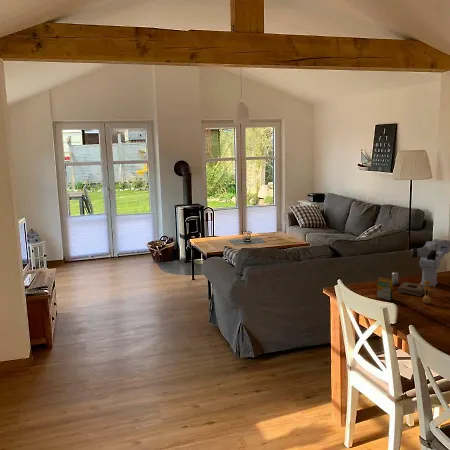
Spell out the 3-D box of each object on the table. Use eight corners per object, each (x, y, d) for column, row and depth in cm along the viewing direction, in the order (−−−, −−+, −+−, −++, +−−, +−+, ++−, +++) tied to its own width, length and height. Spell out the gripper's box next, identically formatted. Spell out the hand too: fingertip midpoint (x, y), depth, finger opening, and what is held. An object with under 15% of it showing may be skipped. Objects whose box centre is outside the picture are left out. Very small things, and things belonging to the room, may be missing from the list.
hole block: (404, 287, 270) (404, 281, 269) (426, 290, 263) (426, 285, 262) (397, 292, 260) (397, 287, 260) (420, 296, 253) (420, 291, 253)
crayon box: (392, 299, 251) (393, 278, 248) (389, 300, 248) (390, 279, 246) (379, 296, 255) (379, 275, 253) (376, 297, 253) (377, 276, 251)
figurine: (418, 304, 242) (419, 281, 240) (417, 300, 248) (418, 278, 246) (435, 305, 240) (437, 282, 238) (434, 301, 246) (435, 279, 244)
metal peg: (392, 283, 277) (393, 271, 276) (398, 284, 275) (399, 272, 274) (390, 284, 275) (391, 273, 273) (396, 285, 273) (397, 274, 271)
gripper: (414, 242, 269) (407, 248, 259) (441, 245, 260) (435, 251, 250) (414, 253, 271) (406, 260, 260) (440, 257, 262) (434, 264, 252)
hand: (420, 257), depth 255 cm, fingers open, 7 cm apart
